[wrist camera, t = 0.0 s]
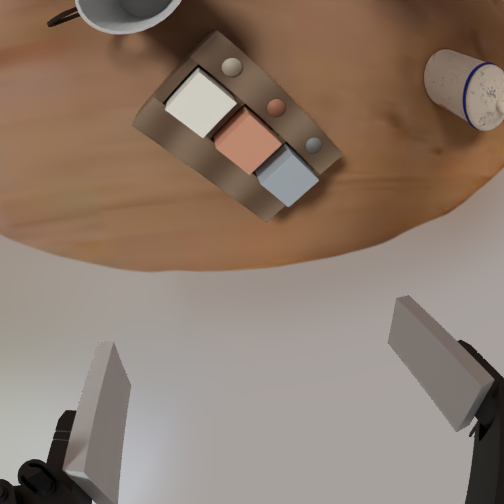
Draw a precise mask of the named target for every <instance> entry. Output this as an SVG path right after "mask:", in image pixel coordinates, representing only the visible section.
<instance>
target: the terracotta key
mask: <svg viewBox="0 0 504 504" xmlns="http://www.w3.org/2000/svg"><path fill="white" fill-rule="evenodd" d="M213 137H214V142H215V147H216V149H217V150H218V151H220V152H221V153H222V154H224V155H225V156H226V157H227V158H229V159H230V160H231V161H232V162H234V163H235V164H236V165H237V166H239V167H240V168H241V169H242V170H244V171H245V172H246V173H247V174H249V175H250V174H251V173H252V172H253V171H254V170H255V169H256V168H257V167H258V166H260V165H261V164H262V163H263V162H264V161H265V160H266V159H267V158H268V157H269V156H270V155H271V154H272V153H273V152H274V151H276V150H277V149H278V148H279V147H280V146H281V145H282V143H281V142H280V140H279V139H278V138H277V136H276V135H275V133H274V132H273V130H272V129H271V128H270V127H269V126H268V125H267V124H266V123H265V122H264V121H263V120H262V119H261V118H260V117H259V116H257V115H256V114H255V113H254V112H253V111H252V110H251V109H250V108H248V107H247V106H246V105H245V104H244V105H243V106H242V107H241V108H240V109H239V110H238V111H237V112H236V113H235V114H234V115H233V116H232V117H231V118H230V119H229V120H228V121H227V122H226V123H225V124H224V125H223V126H222V127H221V128H220V129H219V130H218V131H217V132H216V133H215V134H214V135H213Z"/></svg>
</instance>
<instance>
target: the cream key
mask: <svg viewBox="0 0 504 504" xmlns="http://www.w3.org/2000/svg"><path fill="white" fill-rule="evenodd" d="M236 104H237V103H236V101H235V99H234V97H233V96H232V94H231V92H230V91H229V90H228V89H227V88H225V87H224V86H223V85H222V84H221V83H220V82H218V81H217V80H216V79H215V78H213V77H212V76H211V75H210V74H209V73H207V72H206V71H205V70H204V69H202V68H201V67H200V66H199V65H197V66H196V67H195V68H194V69H193V70H192V71H191V72H190V73H189V74H188V75H187V77H186V78H185V79H184V80H183V81H182V82H181V83H180V84H179V85H178V86H177V87H176V89H175V90H174V91H173V92H172V93H171V94H170V95H169V97H168V100H167V104H166V108H165V110H166V111H167V112H169V113H170V114H171V115H173V116H174V117H175V118H177V119H178V120H179V121H181V122H182V123H183V124H185V125H186V126H187V127H189V128H190V129H191V130H193V131H194V132H195V133H196V134H198V135H199V136H200V137H202V138H204V137H205V136H206V134H207V133H208V132H209V131H210V130H211V129H212V128H213V127H214V126H215V125H216V124H217V123H218V122H219V121H220V120H221V119H222V118H223V117H224V116H225V115H226V114H227V113H228V112H229V111H230V110H231V109H232V108H233V107H234V106H235V105H236Z"/></svg>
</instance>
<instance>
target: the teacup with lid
mask: <svg viewBox="0 0 504 504" xmlns="http://www.w3.org/2000/svg"><path fill="white" fill-rule="evenodd" d="M424 84H425V89H426V91H427V94H428V95H429V97H430V98H431V99H432V100H433V101H434V102H435V103H436V104H438V105H440V106H442V107H443V108H445V109H447V110H449V111H451V112H452V113H454V114H456V115H457V116H459V117H461V118H462V119H464V120H466V121H467V122H469V124H470V125H471V126H472V127H474V128H475V129H477V130H482V131H488V130H492V129H494V128H495V127H497V126H498V125H499V124H500V123H501V122H502V121H503V119H504V72H503V71H502V70H501V69H500V68H499V67H498V66H497V65H495V64H493V63H490V62H483V61H481V60H478V59H475V58H473V57H470V56H467V55H464V54H461V53H458V52H455V51H452V50H448V49H444V50H440V51H438V52H436V53H434V54H433V55H432V56H431V57H430V59H429V60H428V62H427V64H426V67H425V71H424Z"/></svg>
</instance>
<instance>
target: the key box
mask: <svg viewBox="0 0 504 504" xmlns="http://www.w3.org/2000/svg"><path fill="white" fill-rule="evenodd" d="M197 65H199V66H200V67H201V68H202V69H204V70H205V71H206V72H207V73H209V74H210V75H211V76H212V77H213V78H215V79H216V80H217V81H218V82H220V83H221V84H222V85H223V86H224V87H225V88H227V89H228V90H229V91H230V92H231V94H232V96H233V97H234V99H235V101H236V103H237V104H236V105H235V106H234V107H233V108H232V109H231V110H230V111H229V112H228V113H227V114H226V115H225V116H224V117H223V118H222V119H221V120H220V121H219V122H218V123H217V124H216V125H215V126H214V127H213V128H212V129H211V130H210V131H209V132H208V133H207V134H206V136H205V137H204V138H202V137H200V136H199V135H198V134H196V133H195V132H194V131H193V130H191V129H190V128H189V127H187V126H186V125H185V124H183V123H182V122H181V121H179V120H178V119H177V118H175V117H174V116H173V115H171V114H170V113H169V112H167V111H166V110H165V108H166V104H167V100H168V97H169V95H170V94H171V93H172V92H173V91H174V90H175V89H176V87H177V86H178V85H179V84H180V83H181V82H182V81H183V80H184V79H185V78H186V77H187V75H188V74H189V73H190V72H191V71H192V70H193V69H194V68H195V67H196V66H197ZM244 104H245V105H246V106H247V107H248V108H250V109H251V110H252V111H253V112H254V113H255V114H256V115H257V116H259V117H260V118H261V119H262V120H263V121H264V122H265V123H266V124H267V125H268V126H269V127H270V128H271V129H272V130H273V132H274V133H275V135H276V136H277V138H278V139H279V140H280V142H281V143H282V144H283V143H285V142H286V143H287V144H289V145H290V146H291V147H292V148H293V149H294V150H295V151H296V152H297V153H298V154H299V155H300V156H301V157H302V158H303V159H304V160H305V162H306V163H307V164H308V166H309V167H310V168H311V170H312V171H313V172H314V174H315V175H316V177H318V176H319V175H321V174H322V173H323V172H324V171H325V170H326V169H327V168H328V167H330V166H331V165H332V164H333V163H334V162H335V161H336V160H338V159H339V158H340V157H341V156H342V155H343V154H342V153H341V152H340V151H339V149H338V148H337V147H336V146H335V145H334V144H333V143H332V141H331V140H330V139H329V138H328V137H327V136H326V135H325V134H324V132H323V131H322V130H321V129H320V128H319V127H318V126H317V125H316V124H315V123H314V121H313V120H312V119H311V118H310V117H309V116H308V115H307V114H306V113H305V112H304V111H303V110H302V109H301V108H300V107H299V106H298V105H297V104H296V103H295V101H294V100H293V99H292V98H291V97H290V96H289V95H288V94H287V93H286V92H285V91H284V90H283V89H282V88H281V87H280V86H279V85H278V84H277V83H276V82H274V81H273V80H272V79H271V78H270V77H269V76H268V75H267V74H266V73H265V72H264V71H263V70H262V69H261V68H260V67H259V66H258V65H257V64H255V63H254V62H253V61H252V60H251V59H250V58H249V57H248V56H247V55H246V54H244V53H243V52H242V51H241V50H240V49H239V48H238V47H237V46H235V45H234V44H233V43H232V42H231V41H230V40H229V39H227V38H226V37H225V36H224V35H223V34H221V33H220V32H219V31H218V30H215V29H213V30H212V31H211V32H210V33H209V34H208V35H207V36H206V37H205V38H204V39H203V40H202V41H201V42H200V43H199V44H198V45H197V46H196V47H195V48H194V49H193V50H192V51H191V52H190V53H189V54H188V55H187V56H186V57H185V58H184V59H183V60H182V61H181V62H180V63H179V65H178V66H177V67H176V68H175V69H174V70H173V71H172V72H171V73H170V74H169V76H168V77H167V78H166V79H165V80H164V81H163V82H162V84H161V85H160V86H159V87H158V88H157V89H156V91H155V92H154V93H153V94H152V95H151V97H150V98H149V99H148V100H147V101H146V103H145V104H144V105H143V106H142V108H141V109H140V110H139V111H138V113H137V115H136V117H135V119H134V121H133V123H132V126H133V127H135V128H136V129H138V130H139V131H140V132H142V133H143V134H145V135H146V136H148V137H149V138H150V139H152V140H153V141H155V142H156V143H158V144H159V145H160V146H162V147H163V148H165V149H166V150H167V151H169V152H170V153H172V154H173V155H175V156H176V157H177V158H179V159H180V160H182V161H183V162H184V163H186V164H187V165H189V166H190V167H191V168H193V169H194V170H195V171H197V172H198V173H200V174H201V175H202V176H204V177H205V178H207V179H208V180H209V181H211V182H212V183H213V184H215V185H216V186H218V187H219V188H220V189H222V190H223V191H224V192H226V193H227V194H228V195H230V196H231V197H233V198H234V199H235V200H237V201H238V202H239V203H241V204H242V205H243V206H245V207H246V208H247V209H249V210H250V211H251V212H253V213H254V214H255V215H257V216H258V217H259V218H261V219H262V220H263V221H265V222H267V221H269V220H270V219H271V218H272V217H273V216H274V215H275V214H276V213H278V212H279V211H280V210H281V209H282V208H283V207H284V206H285V204H284V203H283V202H281V201H280V200H279V199H278V198H277V197H275V196H274V195H273V194H272V193H271V192H269V191H268V190H267V189H266V188H265V187H263V186H262V185H261V184H260V182H259V179H258V177H257V174H256V172H255V170H256V169H257V168H258V167H259V166H258V167H257V168H256V169H255V170H254V171H253V172H252V173H251V174H250V175H249V174H247V173H246V172H245V171H244V170H242V169H241V168H240V167H239V166H237V165H236V164H235V163H234V162H232V161H231V160H230V159H229V158H227V157H226V156H225V155H224V154H222V153H221V152H220V151H218V150H217V149H216V147H215V142H214V137H213V135H214V134H215V133H216V132H217V131H218V130H219V129H220V128H221V127H222V126H223V125H224V124H225V123H226V122H227V121H228V120H229V119H230V118H231V117H232V116H233V115H234V114H235V113H236V112H237V111H238V110H239V109H240V108H241V107H242V106H243V105H244ZM274 152H275V151H274ZM274 152H273V153H274ZM273 153H272V154H273ZM272 154H271V155H272ZM271 155H270V156H271ZM270 156H269V157H270Z"/></svg>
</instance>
